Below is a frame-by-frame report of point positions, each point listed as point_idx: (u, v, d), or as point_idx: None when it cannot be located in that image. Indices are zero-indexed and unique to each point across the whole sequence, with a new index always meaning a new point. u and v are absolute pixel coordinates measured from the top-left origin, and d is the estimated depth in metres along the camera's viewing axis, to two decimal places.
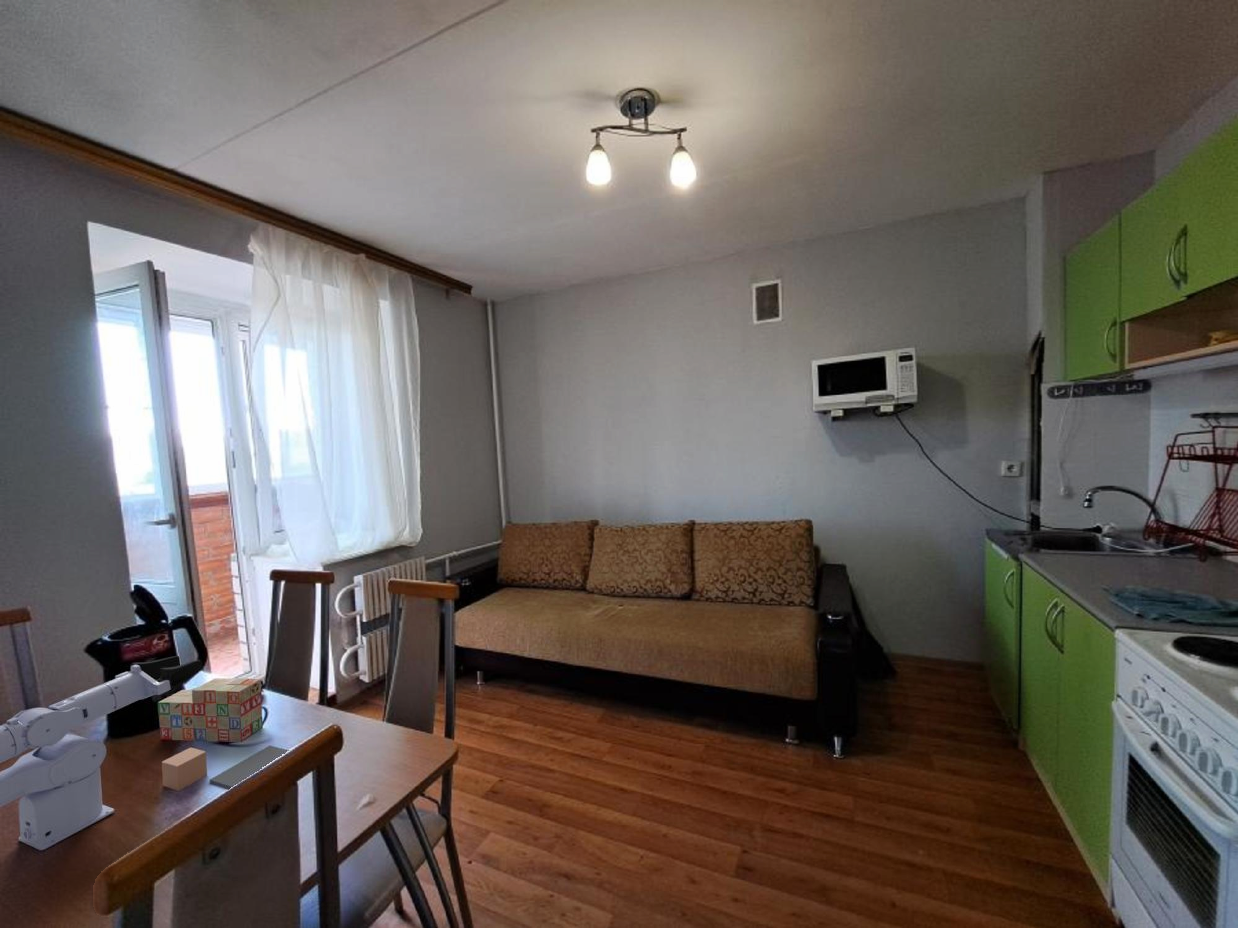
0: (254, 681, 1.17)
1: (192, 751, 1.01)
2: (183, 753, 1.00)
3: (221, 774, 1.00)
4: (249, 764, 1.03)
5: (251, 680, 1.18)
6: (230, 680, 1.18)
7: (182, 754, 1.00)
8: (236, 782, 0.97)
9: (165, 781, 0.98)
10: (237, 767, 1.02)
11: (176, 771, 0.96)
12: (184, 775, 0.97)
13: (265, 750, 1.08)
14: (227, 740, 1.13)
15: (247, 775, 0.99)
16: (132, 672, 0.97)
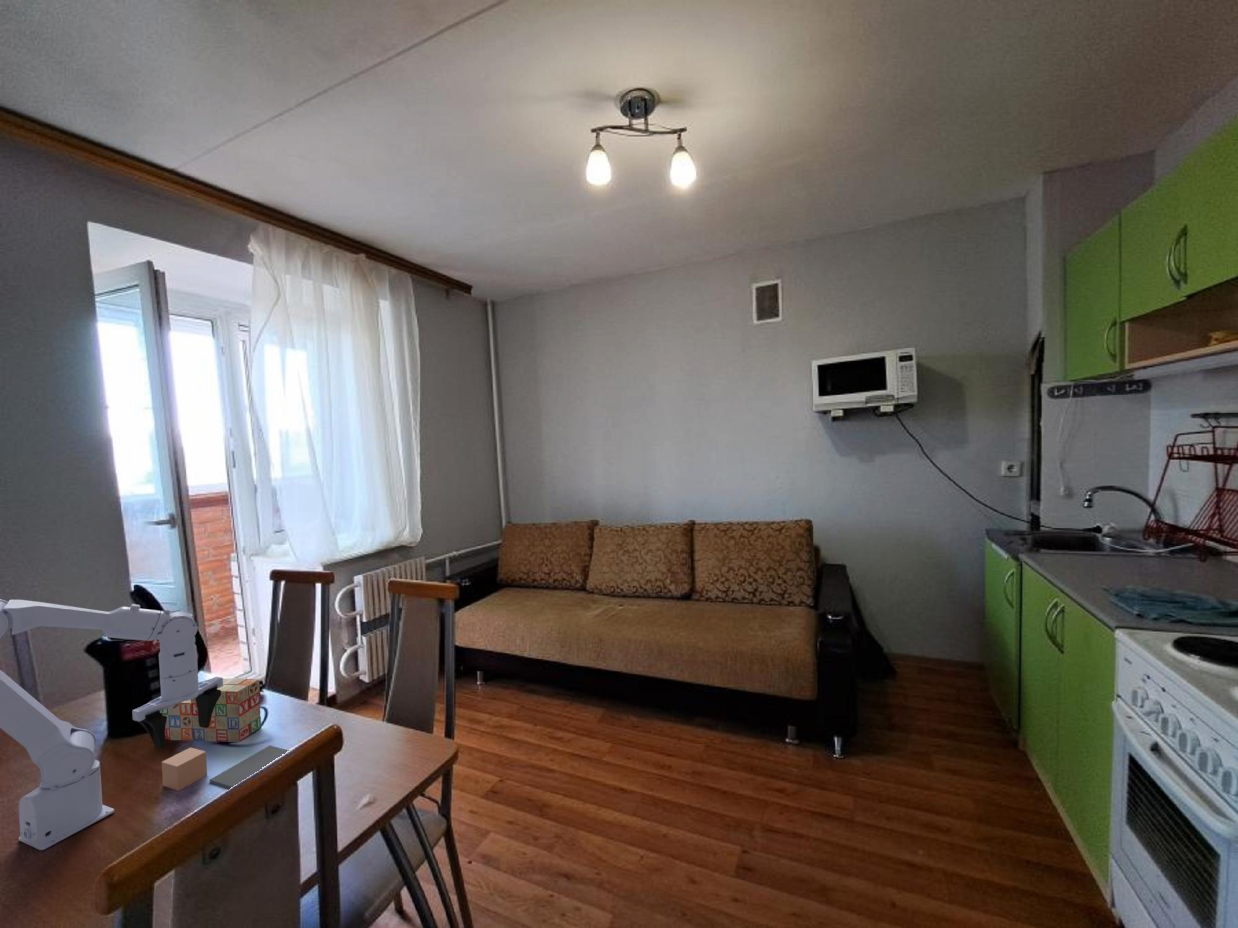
0: (252, 681, 1.17)
1: (192, 751, 1.01)
2: (183, 753, 1.00)
3: (221, 774, 1.00)
4: (249, 764, 1.03)
5: (249, 680, 1.18)
6: (228, 680, 1.18)
7: (182, 754, 1.00)
8: (236, 782, 0.97)
9: (165, 781, 0.98)
10: (237, 767, 1.02)
11: (176, 771, 0.96)
12: (184, 775, 0.97)
13: (265, 750, 1.08)
14: (225, 740, 1.13)
15: (247, 775, 0.99)
16: (189, 693, 0.98)
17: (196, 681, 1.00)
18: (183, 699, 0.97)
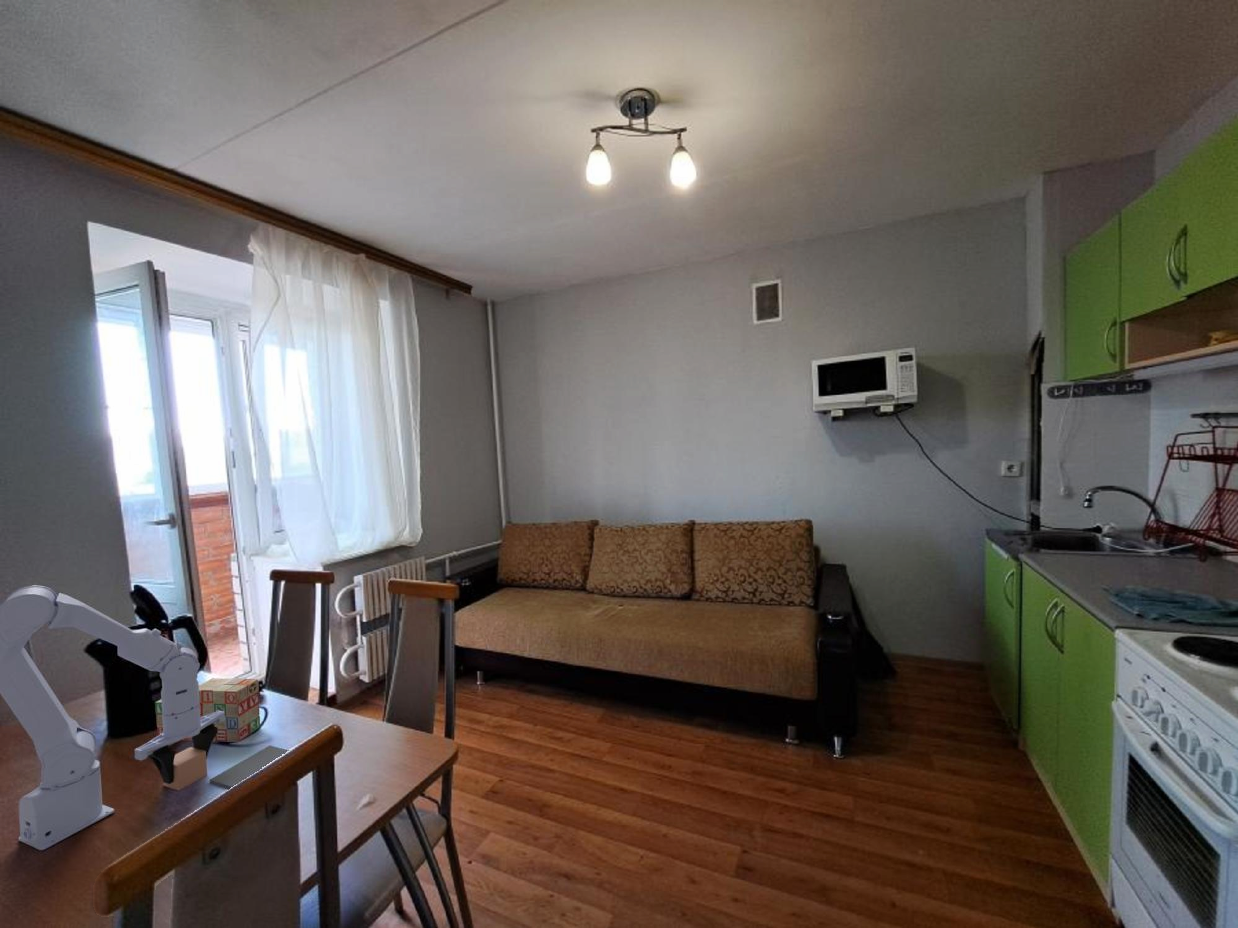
0: (252, 681, 1.17)
1: (192, 750, 1.01)
2: (183, 752, 1.00)
3: (221, 774, 1.00)
4: (249, 764, 1.03)
5: (249, 680, 1.18)
6: (227, 680, 1.18)
7: (182, 754, 1.00)
8: (236, 782, 0.97)
9: None
10: (237, 767, 1.02)
11: (176, 770, 0.96)
12: (184, 775, 0.97)
13: (265, 750, 1.08)
14: (224, 740, 1.13)
15: (247, 775, 0.99)
16: (191, 730, 0.98)
17: (198, 717, 1.00)
18: (185, 736, 0.97)
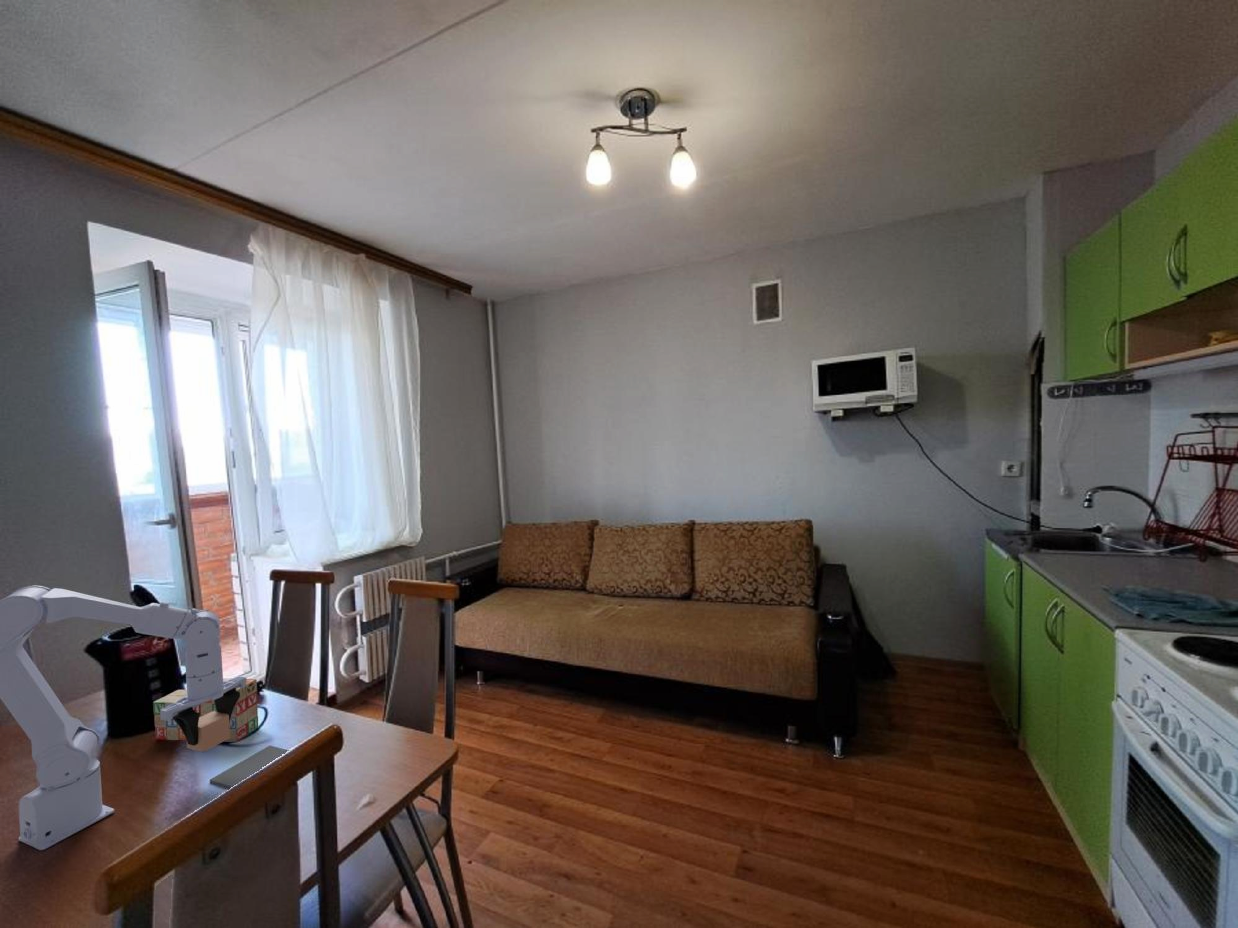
0: (250, 681, 1.17)
1: (215, 714, 1.02)
2: (206, 716, 1.01)
3: (221, 774, 1.00)
4: (249, 764, 1.03)
5: (247, 680, 1.18)
6: (226, 680, 1.18)
7: (205, 717, 1.01)
8: (236, 782, 0.97)
9: None
10: (237, 767, 1.02)
11: (200, 732, 0.97)
12: (208, 737, 0.98)
13: (265, 750, 1.08)
14: None
15: (247, 775, 0.99)
16: (215, 692, 0.99)
17: (221, 681, 1.01)
18: (209, 698, 0.98)
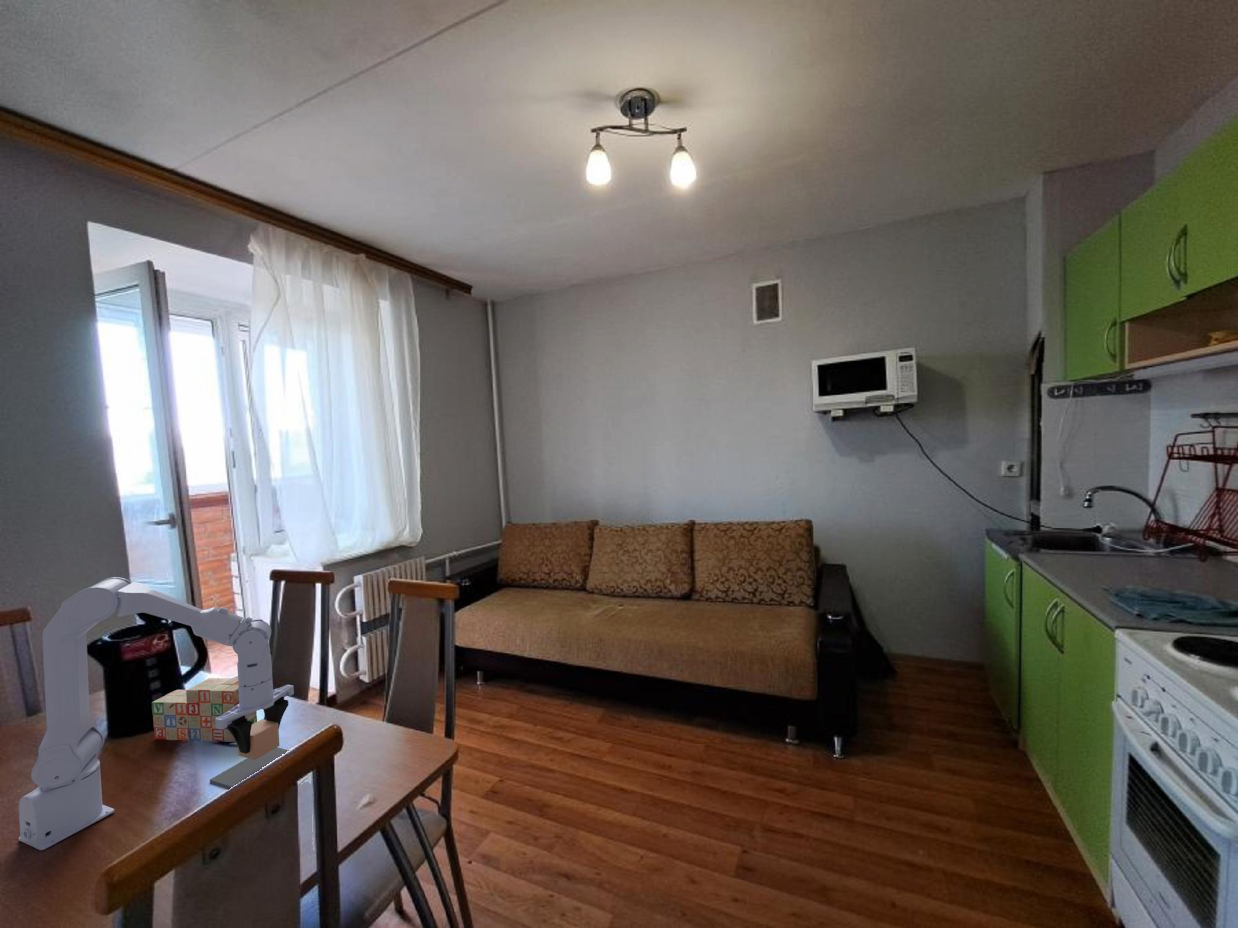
0: None
1: (264, 722, 1.03)
2: (256, 724, 1.03)
3: (221, 774, 1.00)
4: (249, 764, 1.03)
5: None
6: (224, 680, 1.18)
7: (255, 725, 1.02)
8: (236, 782, 0.97)
9: None
10: (237, 767, 1.02)
11: (252, 740, 0.99)
12: (260, 745, 1.00)
13: None
14: (221, 739, 1.13)
15: (247, 775, 0.99)
16: (266, 701, 1.01)
17: (271, 689, 1.02)
18: (261, 707, 0.99)
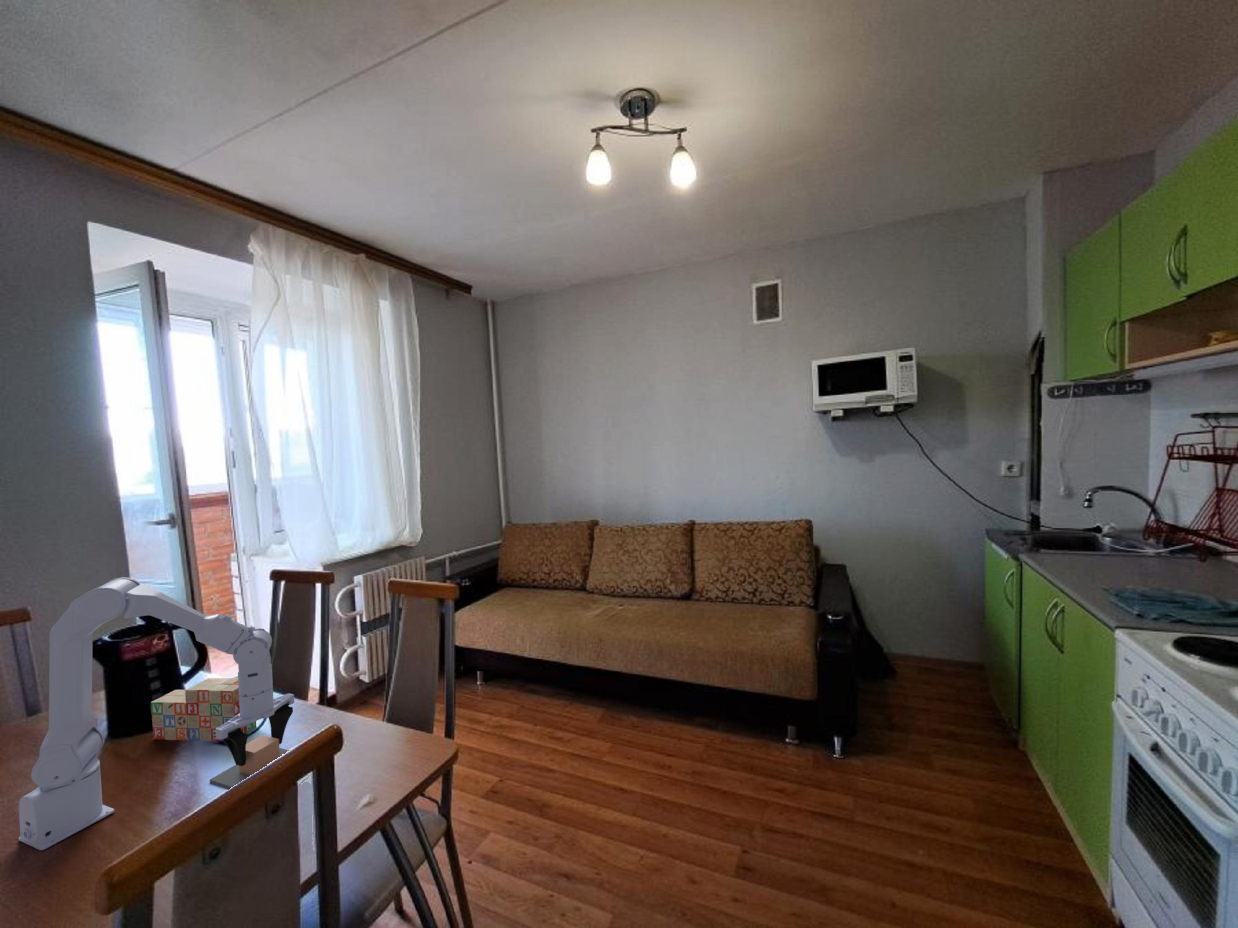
0: None
1: (265, 738, 1.03)
2: (257, 740, 1.03)
3: (221, 774, 1.00)
4: None
5: None
6: (223, 680, 1.18)
7: (256, 741, 1.02)
8: (236, 782, 0.97)
9: (241, 767, 1.00)
10: (237, 767, 1.02)
11: (253, 757, 0.99)
12: (261, 761, 1.00)
13: None
14: None
15: (247, 775, 0.99)
16: (266, 711, 1.01)
17: (272, 699, 1.02)
18: (261, 717, 0.99)
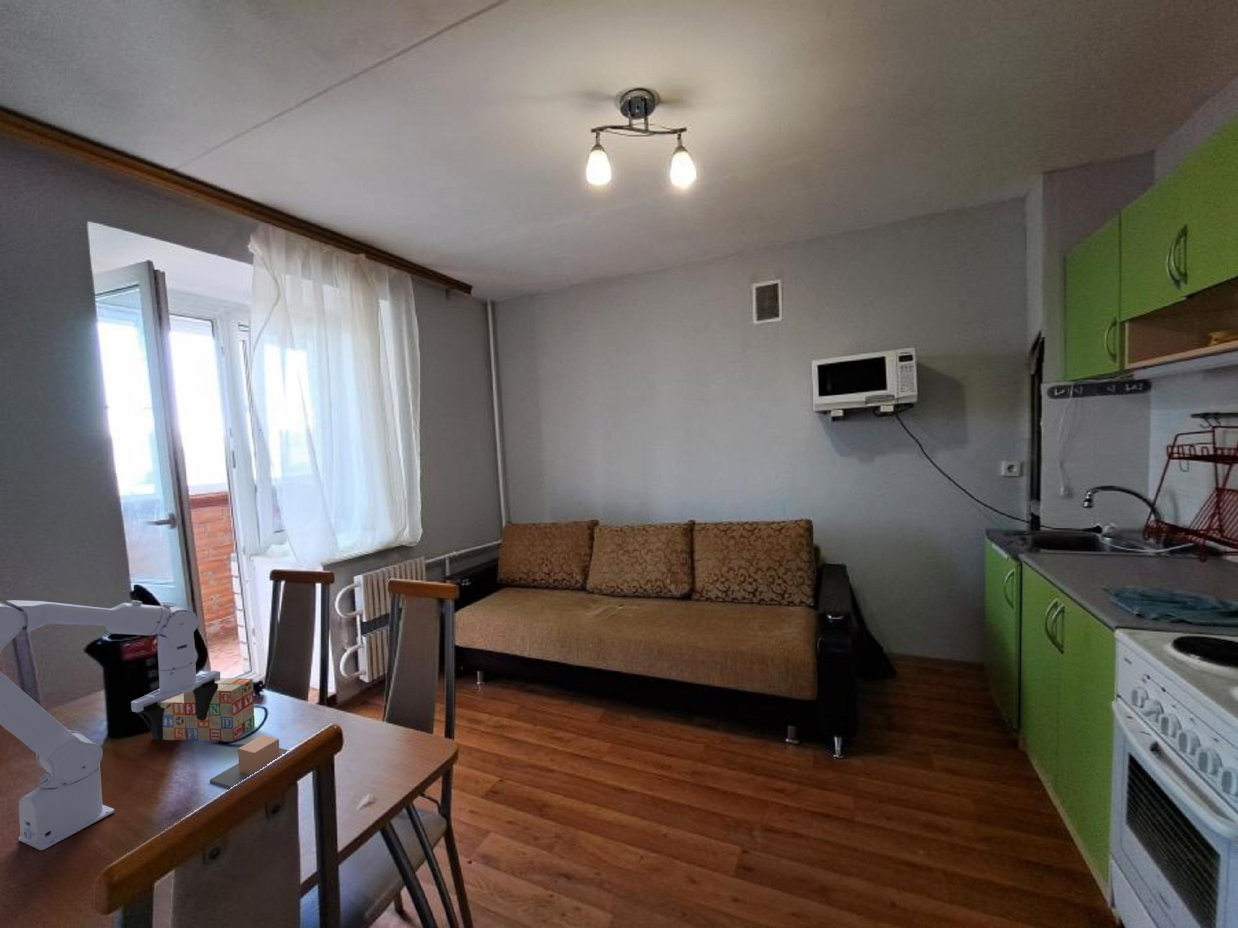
0: (246, 680, 1.18)
1: (265, 738, 1.03)
2: (257, 740, 1.03)
3: (221, 774, 1.00)
4: None
5: (243, 679, 1.18)
6: (222, 680, 1.18)
7: (256, 741, 1.02)
8: (236, 782, 0.97)
9: (241, 767, 1.00)
10: (237, 767, 1.02)
11: (253, 757, 0.99)
12: (261, 761, 1.00)
13: None
14: (219, 739, 1.13)
15: (247, 775, 0.99)
16: (186, 686, 1.01)
17: (194, 674, 1.02)
18: (180, 691, 0.99)
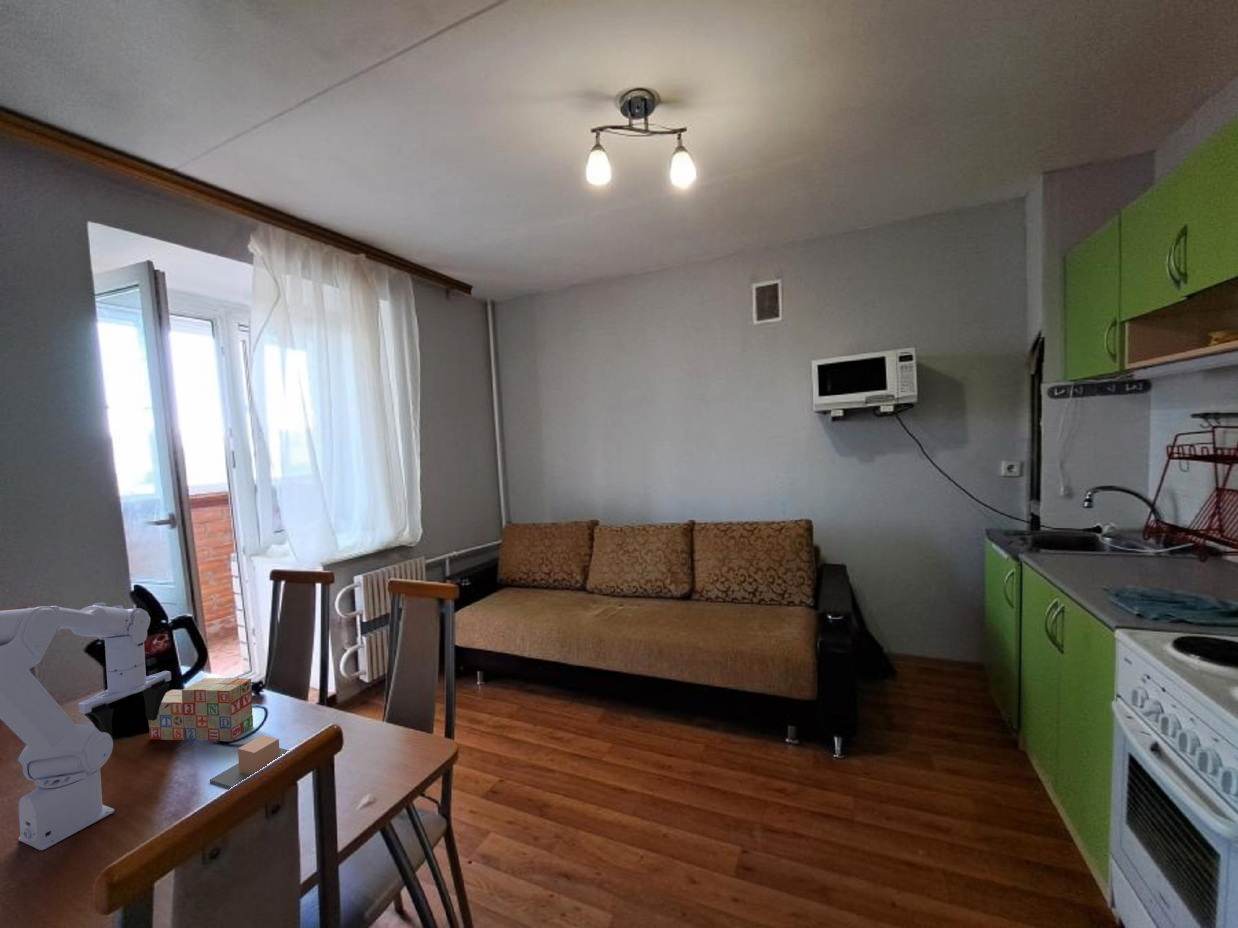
0: (244, 680, 1.18)
1: (265, 738, 1.03)
2: (257, 740, 1.03)
3: (221, 774, 1.00)
4: None
5: (241, 679, 1.18)
6: (220, 679, 1.18)
7: (256, 741, 1.02)
8: (236, 782, 0.97)
9: (241, 767, 1.00)
10: (237, 767, 1.02)
11: (253, 757, 0.99)
12: (261, 761, 1.00)
13: None
14: (217, 739, 1.13)
15: (247, 775, 0.99)
16: (136, 686, 1.01)
17: (144, 675, 1.03)
18: (130, 692, 1.00)
